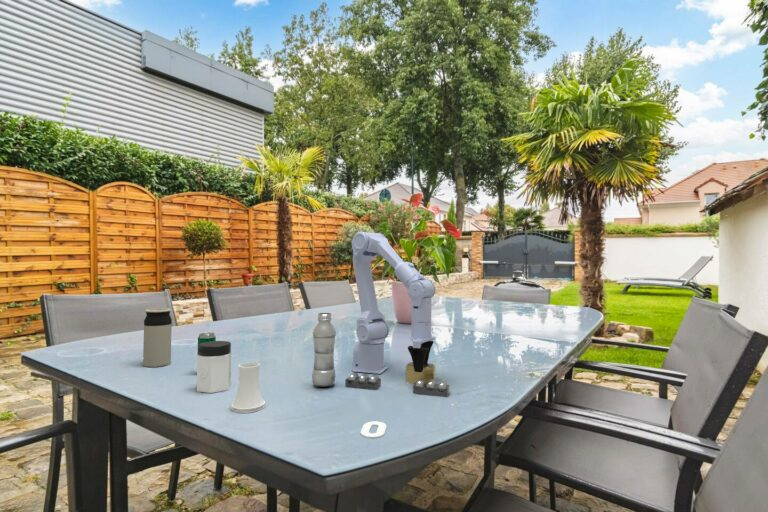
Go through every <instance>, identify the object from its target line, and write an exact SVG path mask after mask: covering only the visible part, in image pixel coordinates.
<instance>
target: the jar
mask: <svg viewBox="0 0 768 512" xmlns="http://www.w3.org/2000/svg"><path fill="white" fill-rule="evenodd" d="M197 352H198V354H199V355H198V356H196V358H197V359H196V363H197V364H196V365H197V367H196V368H197V369H196V392H198V393H205V394H207V393H208V394H214V393H220V392H224V391H228V390H229V388H230V386H231V385H232V381H231V378H232V342H230V341H227V340H226V341H225V340H216V341H210V342H204V343H200V344H199V348H198V347H197Z"/></svg>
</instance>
